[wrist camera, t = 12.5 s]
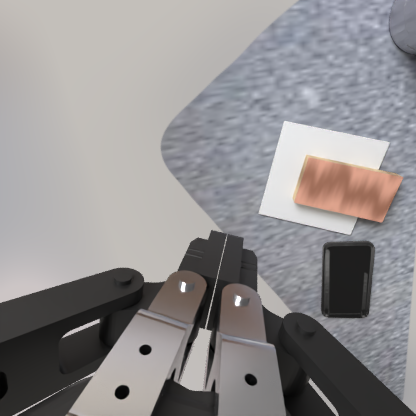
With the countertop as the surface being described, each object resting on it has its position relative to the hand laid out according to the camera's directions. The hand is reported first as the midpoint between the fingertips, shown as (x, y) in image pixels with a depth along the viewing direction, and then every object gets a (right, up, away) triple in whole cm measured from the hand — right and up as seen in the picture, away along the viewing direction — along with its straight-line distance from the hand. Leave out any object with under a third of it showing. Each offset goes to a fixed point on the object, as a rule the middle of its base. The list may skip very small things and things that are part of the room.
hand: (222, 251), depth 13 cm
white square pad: (+16, +6, +31) cm, 35 cm away
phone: (+23, -10, +36) cm, 44 cm away
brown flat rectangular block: (+13, +6, +29) cm, 33 cm away
